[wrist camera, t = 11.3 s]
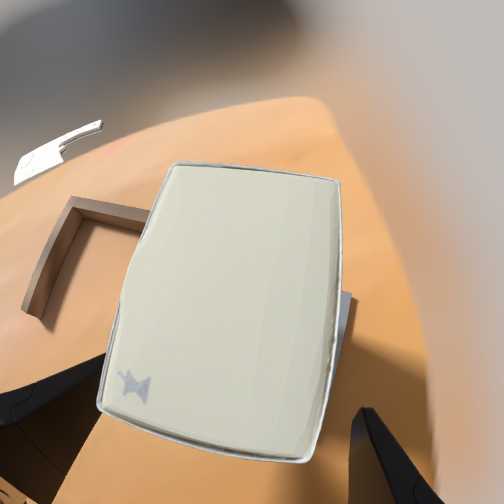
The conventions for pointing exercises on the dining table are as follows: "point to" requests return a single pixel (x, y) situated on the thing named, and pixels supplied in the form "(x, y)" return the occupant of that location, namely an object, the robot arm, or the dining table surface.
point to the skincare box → (230, 313)
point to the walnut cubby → (63, 239)
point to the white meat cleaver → (51, 153)
